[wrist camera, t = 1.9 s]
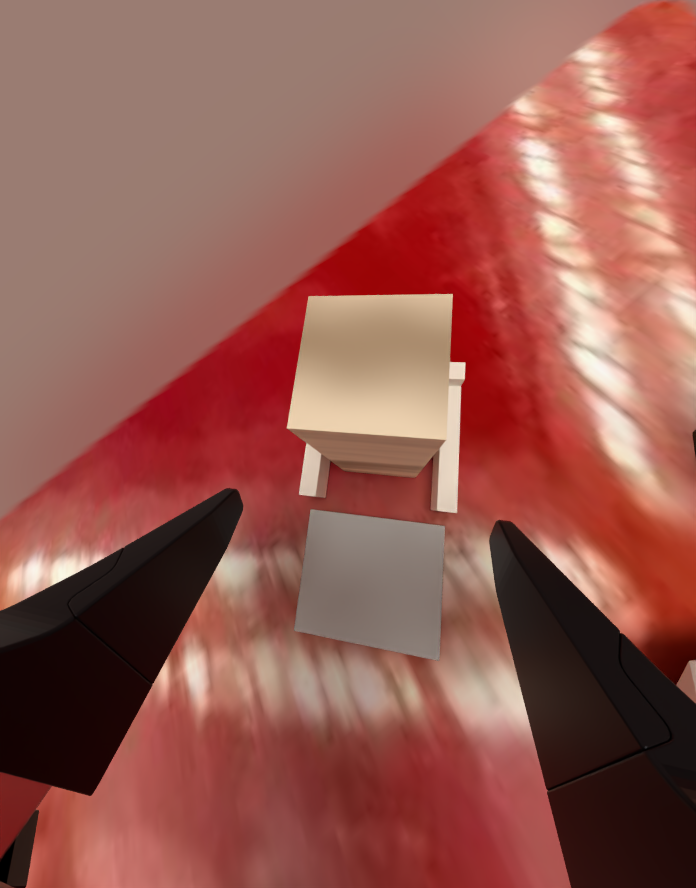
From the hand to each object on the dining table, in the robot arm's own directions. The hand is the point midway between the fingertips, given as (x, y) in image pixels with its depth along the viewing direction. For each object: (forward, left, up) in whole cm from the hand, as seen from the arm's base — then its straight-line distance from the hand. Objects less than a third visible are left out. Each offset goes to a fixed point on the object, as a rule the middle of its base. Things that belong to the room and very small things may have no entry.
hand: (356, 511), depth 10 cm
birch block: (+5, +3, -12) cm, 13 cm away
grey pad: (-4, -3, -12) cm, 13 cm away
